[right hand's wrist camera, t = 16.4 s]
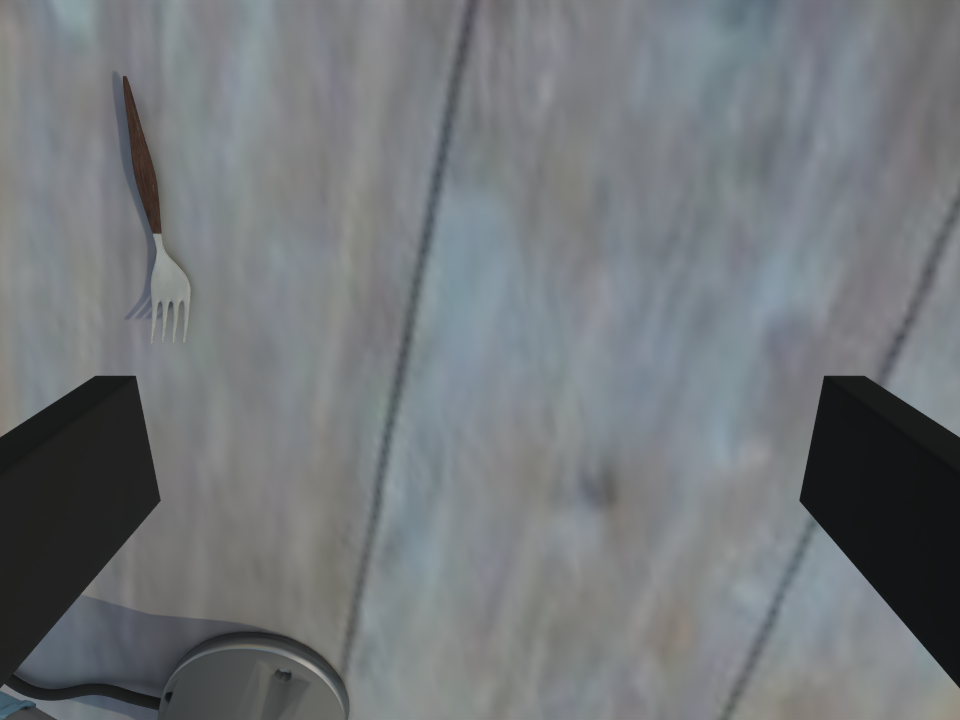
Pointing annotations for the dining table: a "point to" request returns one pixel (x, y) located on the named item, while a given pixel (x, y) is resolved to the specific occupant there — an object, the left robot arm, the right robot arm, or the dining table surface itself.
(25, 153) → the dining table surface
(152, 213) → the fork
